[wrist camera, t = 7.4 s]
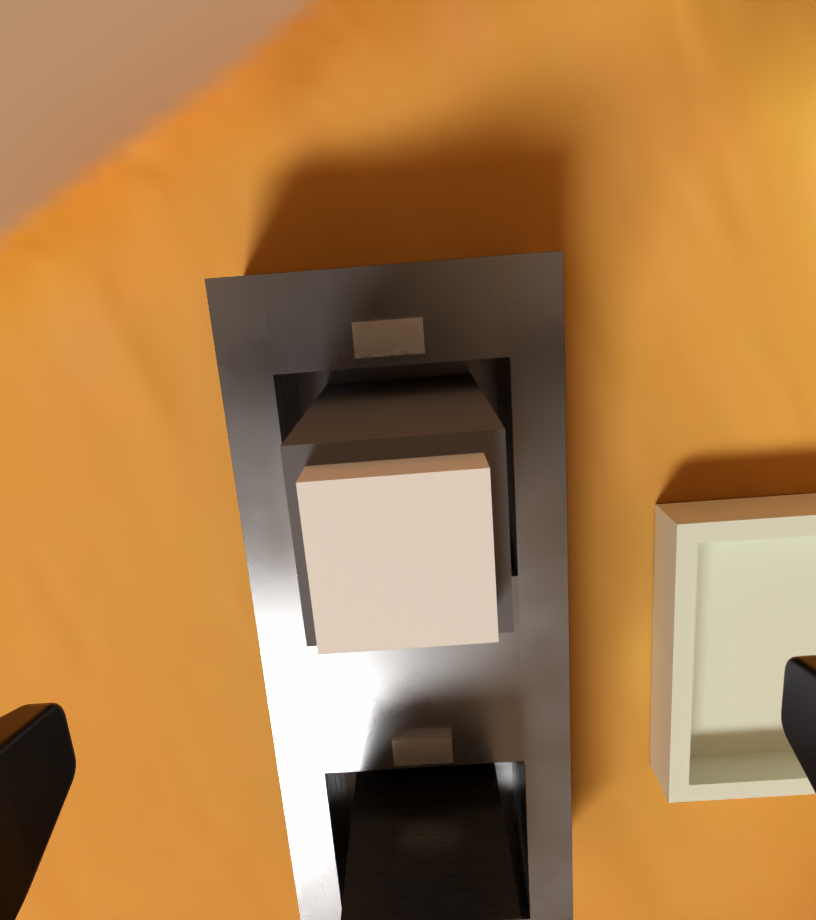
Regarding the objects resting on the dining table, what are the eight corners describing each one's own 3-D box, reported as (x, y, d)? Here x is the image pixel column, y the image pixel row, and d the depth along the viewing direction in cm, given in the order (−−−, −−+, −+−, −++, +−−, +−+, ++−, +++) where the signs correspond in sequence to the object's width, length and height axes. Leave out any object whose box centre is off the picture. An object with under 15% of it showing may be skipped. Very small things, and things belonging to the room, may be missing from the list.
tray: (968, 482, 20) (1018, 500, 18) (929, 747, 22) (970, 784, 21) (655, 504, 20) (677, 524, 19) (649, 764, 23) (668, 802, 21)
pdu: (534, 255, 18) (636, 238, 10) (550, 852, 24) (624, 1161, 15) (242, 278, 18) (108, 280, 10) (322, 866, 24) (275, 1177, 16)
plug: (470, 373, 19) (513, 442, 11) (478, 509, 20) (522, 660, 12) (326, 384, 19) (268, 461, 11) (342, 520, 20) (298, 675, 12)
